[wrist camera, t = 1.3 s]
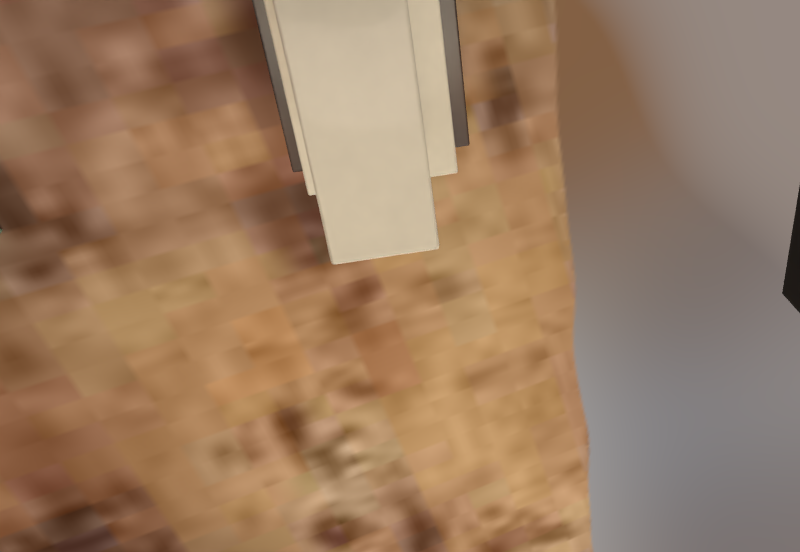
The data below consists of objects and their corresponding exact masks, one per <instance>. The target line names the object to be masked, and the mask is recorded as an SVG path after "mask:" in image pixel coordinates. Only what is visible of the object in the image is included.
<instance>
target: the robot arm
mask: <svg viewBox="0 0 800 552" xmlns="http://www.w3.org/2000/svg"><path fill="white" fill-rule="evenodd" d="M782 293H783V295H784V296H785V297H786V298H787V299H788V300H789V301H790V303H791V304H792V305H793V306H794V307H795V308H796V309H797V310H798V311H799V312H800V187H799V193H798V199H797V206H796V212H795V218H794V224H793V230H792V236H791V243H790V249H789V255H788V262H787V267H786V274H785V280H784V286H783V292H782Z"/></svg>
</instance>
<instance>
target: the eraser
mask: <svg viewBox="0 0 800 552" xmlns="http://www.w3.org/2000/svg"><path fill="white" fill-rule="evenodd" d="M263 1H264V5H265V9H266V14H267V18H268V22H269V27H270V31H271V35H272V40H273V44H274V48H275V53H276V57H277V61H278V66H279V70H280V74H281V79H282V83H283V87H284V92H285V96H286V101H287V105H288V109H289V114H290V118H291V122H292V127H293V131H294V135H295V140H296V144H297V148H298V153H299V157H300V161H301V166H302V170H303V174H304V179H305V183H306V187H307V192H308V194H309V195H316V197H317V201H318V206H319V210H320V215H321V219H322V224H323V228H324V233H325V237H326V241H327V246H328V250H329V255H330V259H331V262H332V264H341V263H348V262H354V261H361V260H368V259H374V258H381V257H388V256H394V255H401V254H408V253H414V252H421V251H428V250H434V249H438V248H439V239H438V231H437V224H436V216H435V208H434V201H433V193H432V185H431V178H430V177H433V176H440V175H446V174H453V173H457V172H458V169H457V159H456V150H455V141H454V132H453V123H452V113H451V104H450V95H449V86H448V76H447V67H446V58H445V49H444V39H443V30H442V21H441V12H440V3H439V0H263Z"/></svg>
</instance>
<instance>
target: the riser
mask: <svg viewBox="0 0 800 552" xmlns="http://www.w3.org/2000/svg"><path fill="white" fill-rule="evenodd" d="M252 3H253V7H254V11H255V15H256V19H257V24H258V28H259V32H260V36H261V40H262V45H263V49H264V53H265V57H266V61H267V66H268V70H269V74H270V78H271V82H272V87H273V91H274V95H275V99H276V103H277V108H278V112H279V116H280V120H281V124H282V129H283V133H284V137H285V141H286V145H287V149H288V154H289V158H290V162H291V166H292V170H293V172H299V171H303V170H302V166H301V161H300V157H299V153H298V148H297V144H296V140H295V135H294V131H293V127H292V122H291V118H290V114H289V109H288V105H287V101H286V96H285V92H284V87H283V83H282V79H281V74H280V70H279V66H278V61H277V57H276V53H275V48H274V44H273V40H272V35H271V31H270V27H269V22H268V18H267V14H266V9H265V5H264V1H263V0H252ZM439 3H440V12H441V21H442V30H443V39H444V49H445V58H446V67H447V76H448V86H449V95H450V104H451V113H452V123H453V132H454V141H455V147H461V146H468V145H469V134H468V123H467V113H466V103H465V93H464V82H463V72H462V62H461V51H460V41H459V31H458V20H457V10H456V0H439Z"/></svg>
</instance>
